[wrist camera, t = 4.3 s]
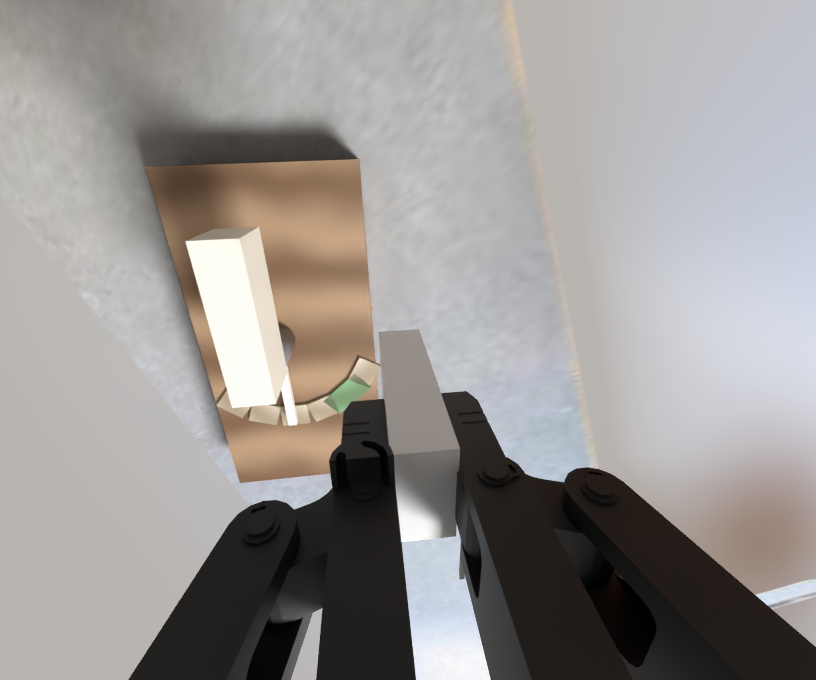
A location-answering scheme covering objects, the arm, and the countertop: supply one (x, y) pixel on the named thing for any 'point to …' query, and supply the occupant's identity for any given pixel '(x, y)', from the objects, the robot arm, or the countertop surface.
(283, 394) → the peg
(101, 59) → the countertop surface
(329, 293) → the board
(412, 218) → the countertop surface
